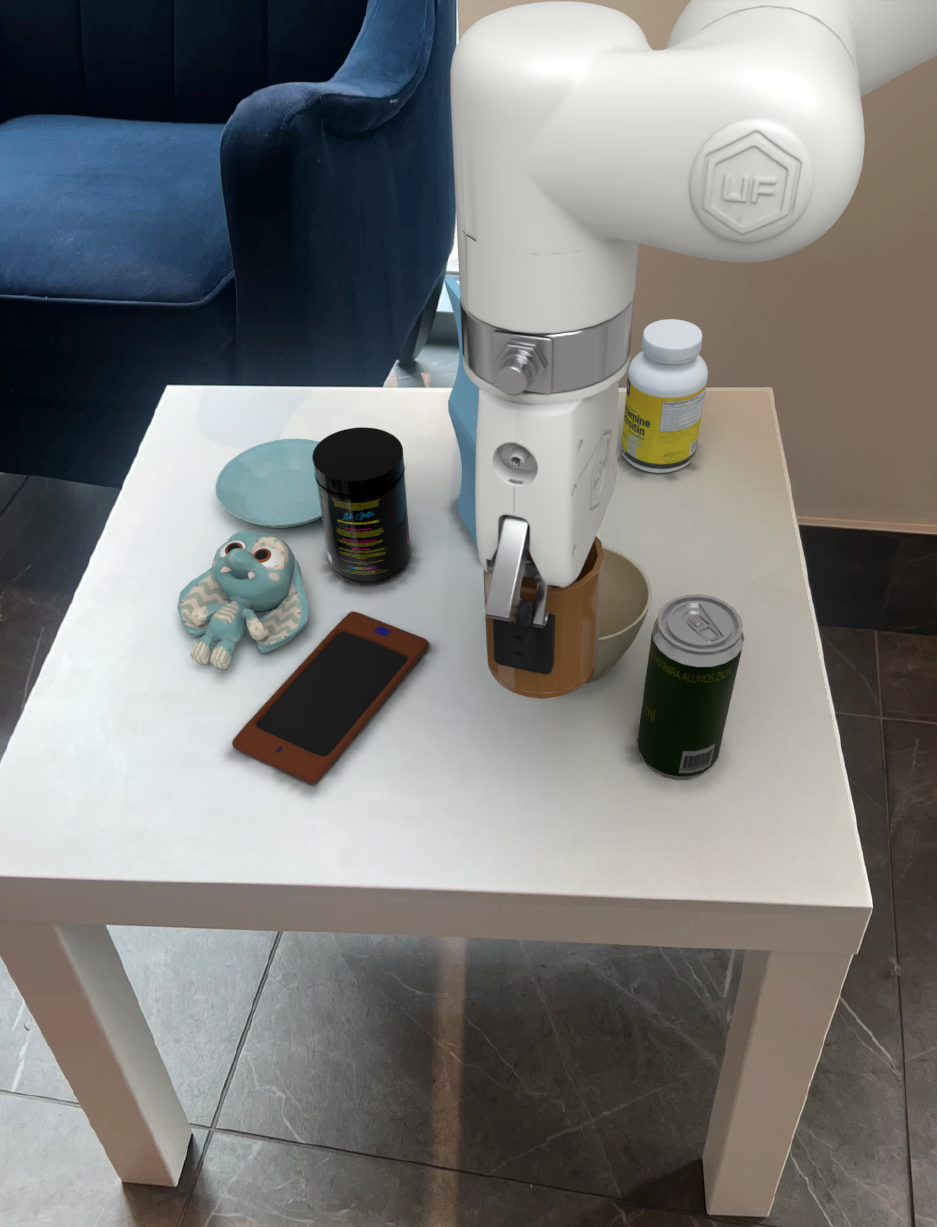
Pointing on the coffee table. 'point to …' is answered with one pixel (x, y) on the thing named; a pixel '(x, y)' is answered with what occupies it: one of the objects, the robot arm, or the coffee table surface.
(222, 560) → the stuffed animal
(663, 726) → the beer can
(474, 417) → the blue doll chair
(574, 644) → the wooden cup
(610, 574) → the flower pot
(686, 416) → the pill bottle
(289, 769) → the smartphone
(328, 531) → the supplement container
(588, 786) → the coffee table surface
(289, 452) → the saucer
